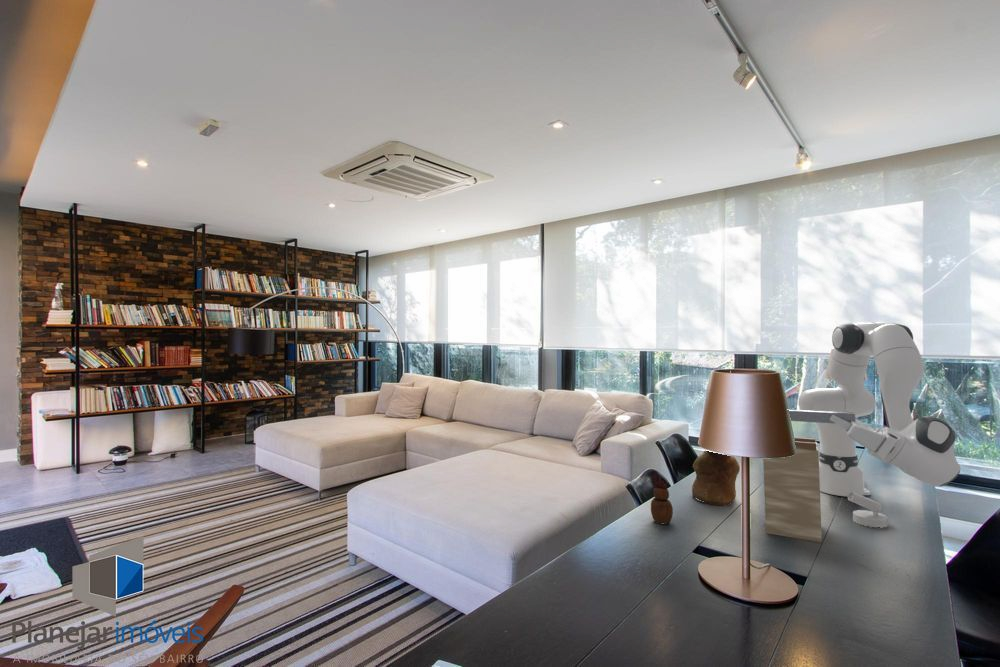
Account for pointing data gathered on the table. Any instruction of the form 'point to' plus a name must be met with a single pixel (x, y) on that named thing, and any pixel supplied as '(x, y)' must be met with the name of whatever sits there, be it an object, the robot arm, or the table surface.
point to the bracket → (819, 416)
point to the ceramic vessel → (715, 478)
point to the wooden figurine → (661, 503)
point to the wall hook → (868, 512)
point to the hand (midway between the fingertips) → (830, 415)
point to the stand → (794, 493)
